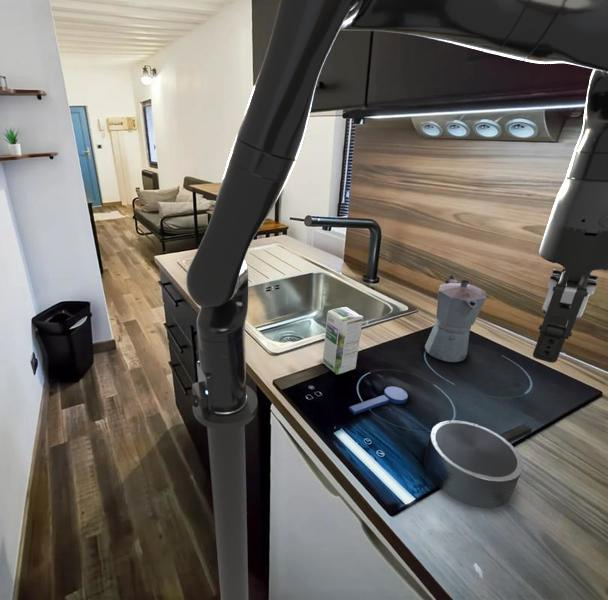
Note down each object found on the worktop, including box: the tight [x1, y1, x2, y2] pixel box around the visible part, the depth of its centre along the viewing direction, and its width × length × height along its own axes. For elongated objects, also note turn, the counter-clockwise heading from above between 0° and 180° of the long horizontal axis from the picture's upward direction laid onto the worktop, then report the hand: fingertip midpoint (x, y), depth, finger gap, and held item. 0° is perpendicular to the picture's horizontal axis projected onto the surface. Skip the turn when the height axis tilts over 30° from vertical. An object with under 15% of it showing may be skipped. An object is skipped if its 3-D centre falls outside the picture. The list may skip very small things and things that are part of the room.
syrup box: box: [322, 306, 364, 375], centre depth 85 cm, size 6×6×14 cm
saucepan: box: [423, 419, 533, 509], centre depth 60 cm, size 19×12×6 cm, turn 110°
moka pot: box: [424, 275, 487, 363], centre depth 87 cm, size 10×15×20 cm, turn 172°
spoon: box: [348, 386, 409, 415], centre depth 76 cm, size 14×4×1 cm, turn 110°
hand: (548, 344), depth 47 cm, fingers open, 8 cm apart
